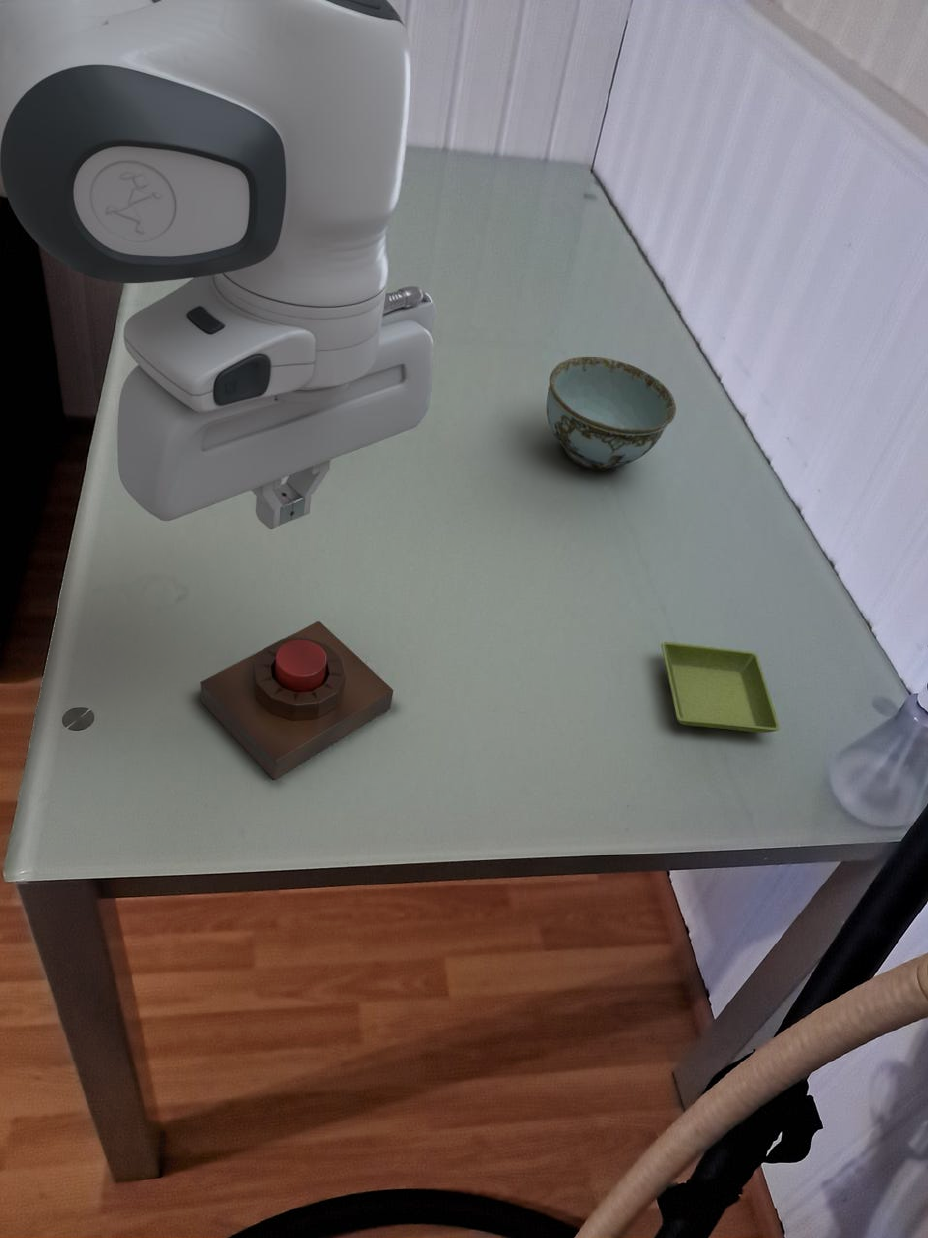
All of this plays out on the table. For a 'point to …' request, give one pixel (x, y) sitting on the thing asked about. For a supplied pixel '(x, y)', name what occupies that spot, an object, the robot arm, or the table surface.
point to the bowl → (606, 411)
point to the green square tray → (718, 688)
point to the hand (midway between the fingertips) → (282, 516)
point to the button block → (295, 702)
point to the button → (300, 665)
